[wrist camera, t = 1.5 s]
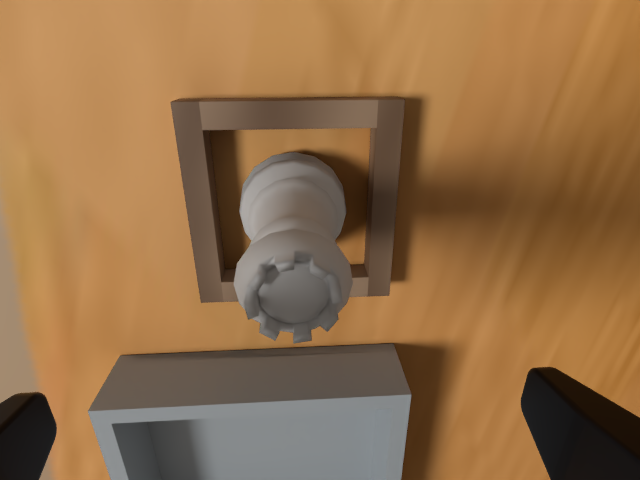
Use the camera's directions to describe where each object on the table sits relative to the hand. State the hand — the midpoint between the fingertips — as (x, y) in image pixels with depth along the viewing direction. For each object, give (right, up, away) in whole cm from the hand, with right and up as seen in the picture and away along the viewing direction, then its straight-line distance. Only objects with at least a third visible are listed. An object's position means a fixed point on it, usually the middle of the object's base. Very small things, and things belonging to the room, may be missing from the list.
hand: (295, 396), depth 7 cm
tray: (-3, -8, +16) cm, 18 cm away
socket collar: (-1, +5, +10) cm, 11 cm away
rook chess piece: (-1, +5, +10) cm, 11 cm away
